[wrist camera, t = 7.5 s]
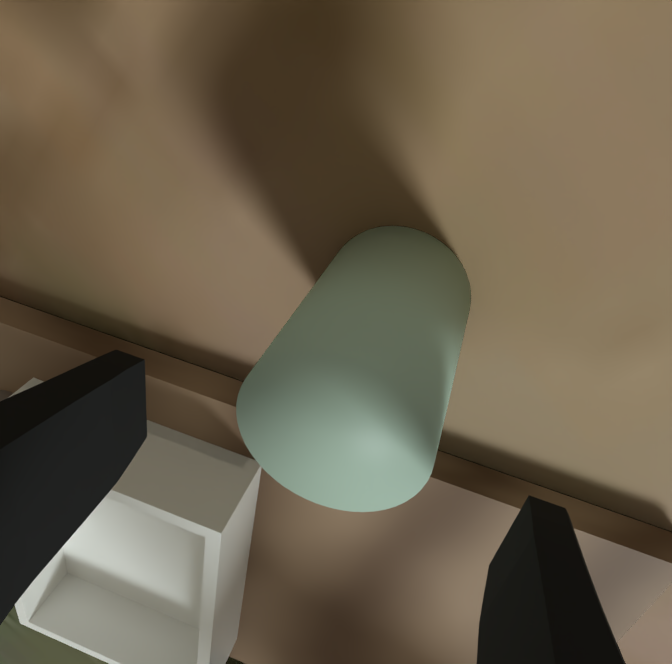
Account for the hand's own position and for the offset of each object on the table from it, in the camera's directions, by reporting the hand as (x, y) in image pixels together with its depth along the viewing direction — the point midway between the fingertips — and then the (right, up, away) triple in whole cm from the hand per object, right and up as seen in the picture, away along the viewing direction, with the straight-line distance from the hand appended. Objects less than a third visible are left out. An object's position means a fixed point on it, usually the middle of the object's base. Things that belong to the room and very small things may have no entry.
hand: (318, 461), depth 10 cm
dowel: (+2, +3, +5) cm, 7 cm away
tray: (-7, -6, +13) cm, 16 cm away
